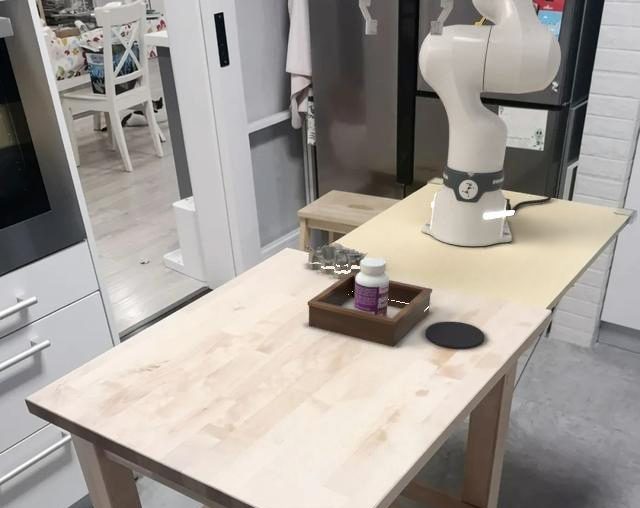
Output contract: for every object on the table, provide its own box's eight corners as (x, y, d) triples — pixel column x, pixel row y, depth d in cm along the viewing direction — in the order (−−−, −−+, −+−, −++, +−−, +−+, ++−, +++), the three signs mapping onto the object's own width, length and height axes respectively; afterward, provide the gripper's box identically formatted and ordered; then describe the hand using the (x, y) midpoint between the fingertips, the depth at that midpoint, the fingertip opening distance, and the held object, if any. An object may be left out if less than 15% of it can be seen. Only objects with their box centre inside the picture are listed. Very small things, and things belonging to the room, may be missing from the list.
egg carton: (302, 266, 136) (301, 245, 133) (331, 257, 140) (331, 236, 138) (340, 282, 129) (341, 260, 127) (369, 272, 133) (371, 250, 131)
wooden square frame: (349, 294, 124) (350, 271, 122) (430, 312, 118) (432, 288, 116) (307, 326, 113) (307, 301, 111) (393, 347, 107) (395, 322, 105)
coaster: (431, 320, 116) (431, 318, 116) (487, 328, 113) (488, 326, 113) (420, 343, 109) (420, 341, 108) (479, 353, 106) (479, 350, 106)
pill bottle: (384, 327, 113) (388, 269, 108) (351, 324, 114) (353, 266, 109) (388, 313, 118) (392, 257, 112) (356, 310, 118) (359, 254, 113)
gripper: (482, -79, 99) (469, 34, 106) (335, -83, 98) (332, 32, 105) (494, -82, 94) (480, 37, 101) (338, -87, 93) (335, 35, 100)
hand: (403, 35), depth 103 cm, fingers open, 8 cm apart
